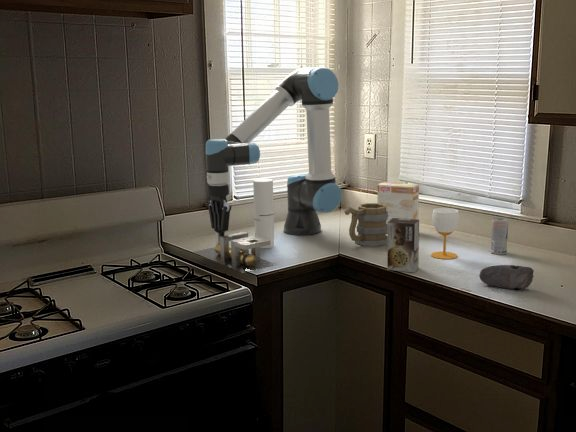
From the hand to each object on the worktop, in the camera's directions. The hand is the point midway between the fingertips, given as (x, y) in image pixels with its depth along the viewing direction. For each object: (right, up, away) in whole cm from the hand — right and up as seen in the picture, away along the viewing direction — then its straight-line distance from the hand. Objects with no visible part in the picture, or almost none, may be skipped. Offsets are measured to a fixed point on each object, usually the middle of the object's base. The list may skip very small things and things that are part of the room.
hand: (220, 249), depth 228 cm
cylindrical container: (+15, 0, +10) cm, 18 cm away
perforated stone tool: (+88, -9, -39) cm, 97 cm away
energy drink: (+98, -1, -4) cm, 98 cm away
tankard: (+53, +1, +12) cm, 54 cm away
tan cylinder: (+6, -3, -8) cm, 11 cm away
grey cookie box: (+61, -6, -20) cm, 65 cm away
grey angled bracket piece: (+6, -3, -7) cm, 9 cm away
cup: (+78, -2, -6) cm, 78 cm away
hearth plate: (+5, -3, -6) cm, 8 cm away
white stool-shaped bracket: (+12, -5, -15) cm, 19 cm away
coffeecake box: (+68, +5, +28) cm, 74 cm away
